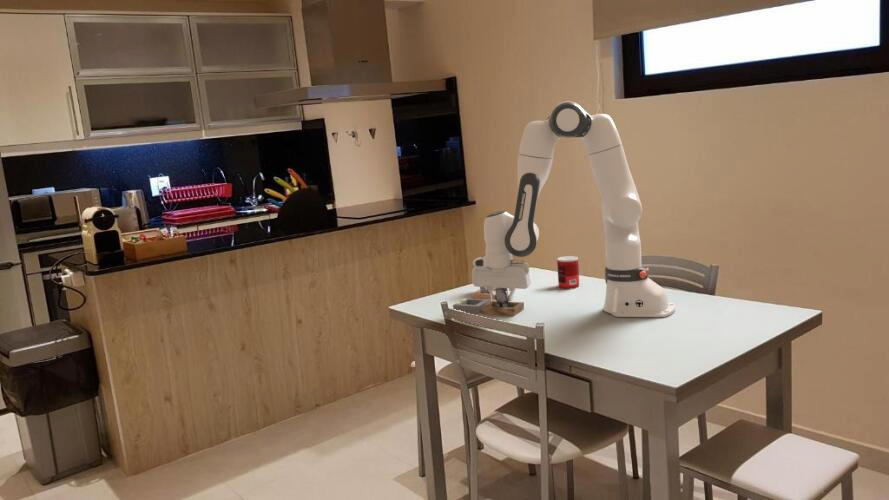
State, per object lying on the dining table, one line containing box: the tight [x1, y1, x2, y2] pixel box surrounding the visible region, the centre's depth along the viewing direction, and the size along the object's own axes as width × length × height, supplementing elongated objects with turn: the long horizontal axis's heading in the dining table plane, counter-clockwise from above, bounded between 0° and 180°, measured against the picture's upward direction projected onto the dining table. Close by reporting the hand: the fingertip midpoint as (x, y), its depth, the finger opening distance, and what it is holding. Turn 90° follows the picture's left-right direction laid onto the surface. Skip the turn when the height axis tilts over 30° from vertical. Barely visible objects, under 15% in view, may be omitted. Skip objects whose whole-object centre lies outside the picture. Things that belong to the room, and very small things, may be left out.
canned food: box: [556, 255, 580, 290], centre depth 258 cm, size 8×8×11 cm
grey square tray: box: [452, 297, 490, 315], centre depth 238 cm, size 10×9×3 cm
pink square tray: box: [472, 288, 497, 301], centre depth 245 cm, size 7×7×4 cm
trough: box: [481, 301, 525, 317], centre depth 231 cm, size 12×8×3 cm, turn 60°
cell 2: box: [496, 288, 509, 308], centre depth 230 cm, size 4×4×8 cm
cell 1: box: [479, 287, 490, 294], centre depth 244 cm, size 4×4×8 cm
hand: (502, 300), depth 231 cm, fingers open, 4 cm apart
